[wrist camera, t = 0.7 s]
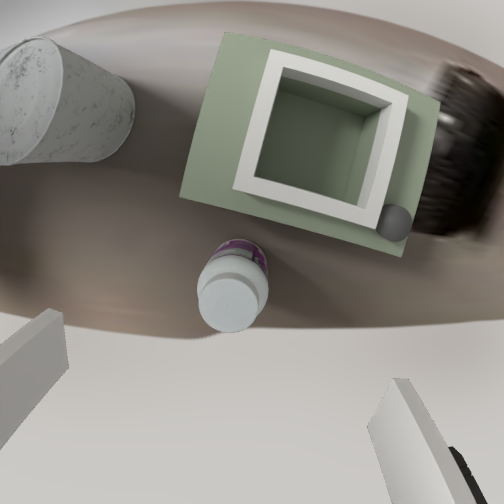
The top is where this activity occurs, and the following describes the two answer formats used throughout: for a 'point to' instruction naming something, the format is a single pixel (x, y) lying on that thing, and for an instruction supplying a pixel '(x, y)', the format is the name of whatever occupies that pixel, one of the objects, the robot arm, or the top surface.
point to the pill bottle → (233, 286)
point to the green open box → (311, 143)
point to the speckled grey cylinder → (59, 106)
